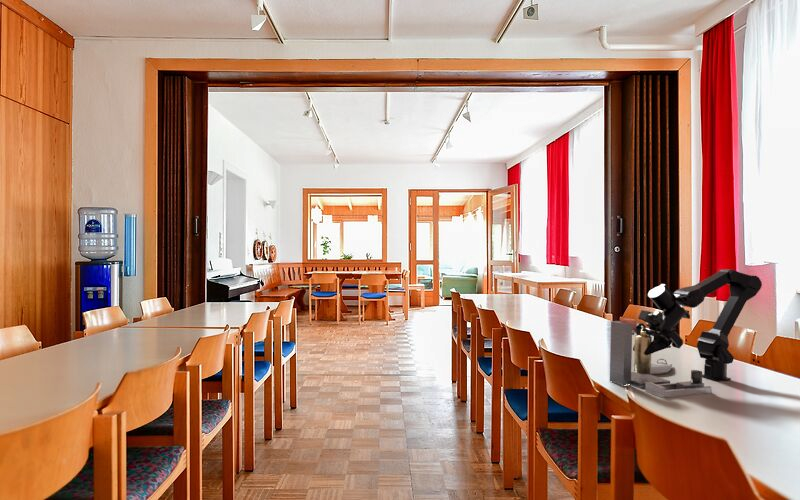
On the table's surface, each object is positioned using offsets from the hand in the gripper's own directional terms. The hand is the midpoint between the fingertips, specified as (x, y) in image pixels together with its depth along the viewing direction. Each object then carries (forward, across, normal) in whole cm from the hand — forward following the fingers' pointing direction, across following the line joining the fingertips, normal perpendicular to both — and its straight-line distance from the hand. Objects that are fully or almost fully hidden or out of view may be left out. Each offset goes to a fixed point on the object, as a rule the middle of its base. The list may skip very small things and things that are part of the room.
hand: (639, 352), depth 157 cm
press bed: (+8, 0, +6) cm, 10 cm away
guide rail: (+3, +12, +10) cm, 16 cm away
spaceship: (-4, -12, +18) cm, 22 cm away
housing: (+4, 0, +6) cm, 7 cm away
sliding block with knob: (0, +11, +14) cm, 18 cm away
